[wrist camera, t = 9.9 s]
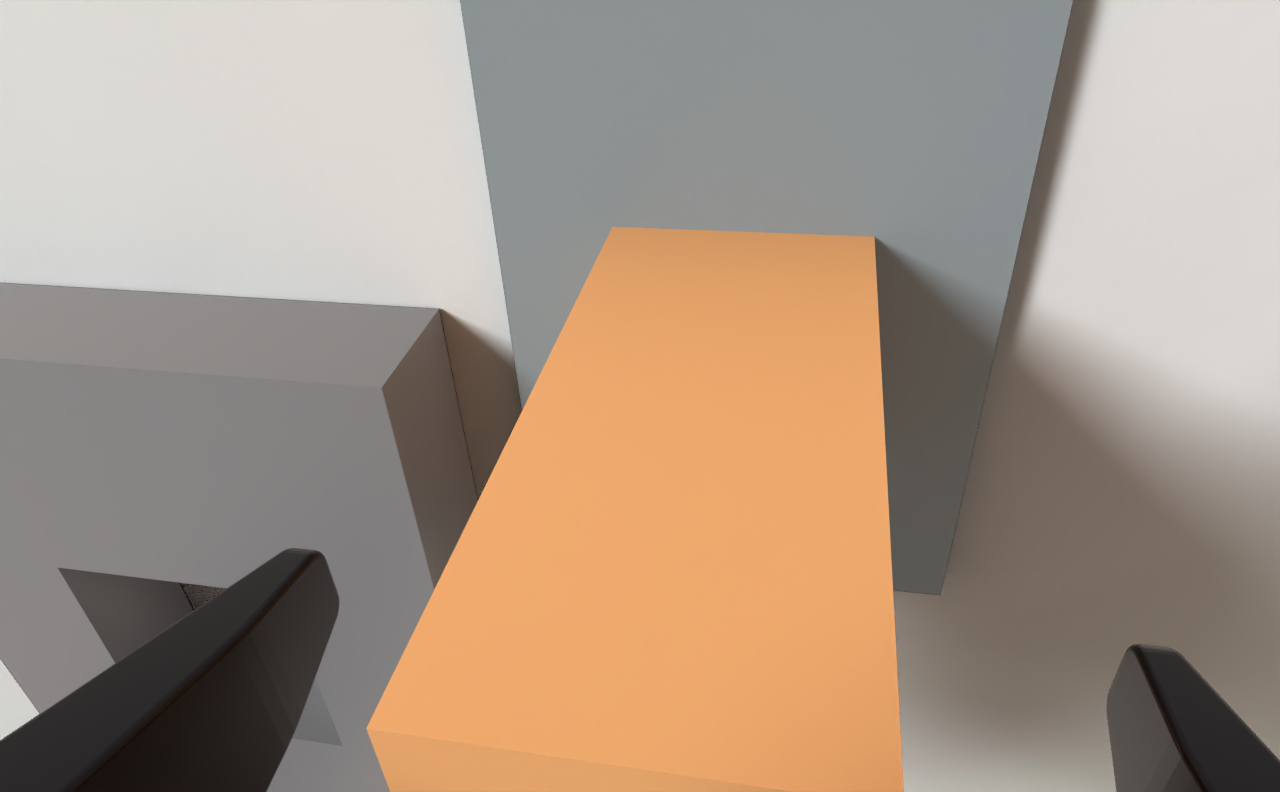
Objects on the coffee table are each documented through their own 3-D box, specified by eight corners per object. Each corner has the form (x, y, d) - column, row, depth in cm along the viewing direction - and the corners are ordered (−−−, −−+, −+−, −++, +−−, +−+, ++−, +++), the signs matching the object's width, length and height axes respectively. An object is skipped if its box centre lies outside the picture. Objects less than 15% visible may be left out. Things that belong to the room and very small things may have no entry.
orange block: (850, 445, 16) (851, 1035, 8) (626, 428, 16) (453, 960, 9) (874, 236, 13) (904, 808, 6) (612, 226, 14) (365, 729, 7)
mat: (938, 576, 18) (940, 595, 17) (549, 536, 19) (543, 552, 19) (1068, -27, 11) (1077, -19, 11) (470, -21, 13) (458, -13, 12)
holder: (537, 795, 25) (511, 883, 24) (164, 736, 28) (111, 813, 26) (439, 308, 16) (381, 387, 14) (-112, 276, 18) (-230, 340, 16)
